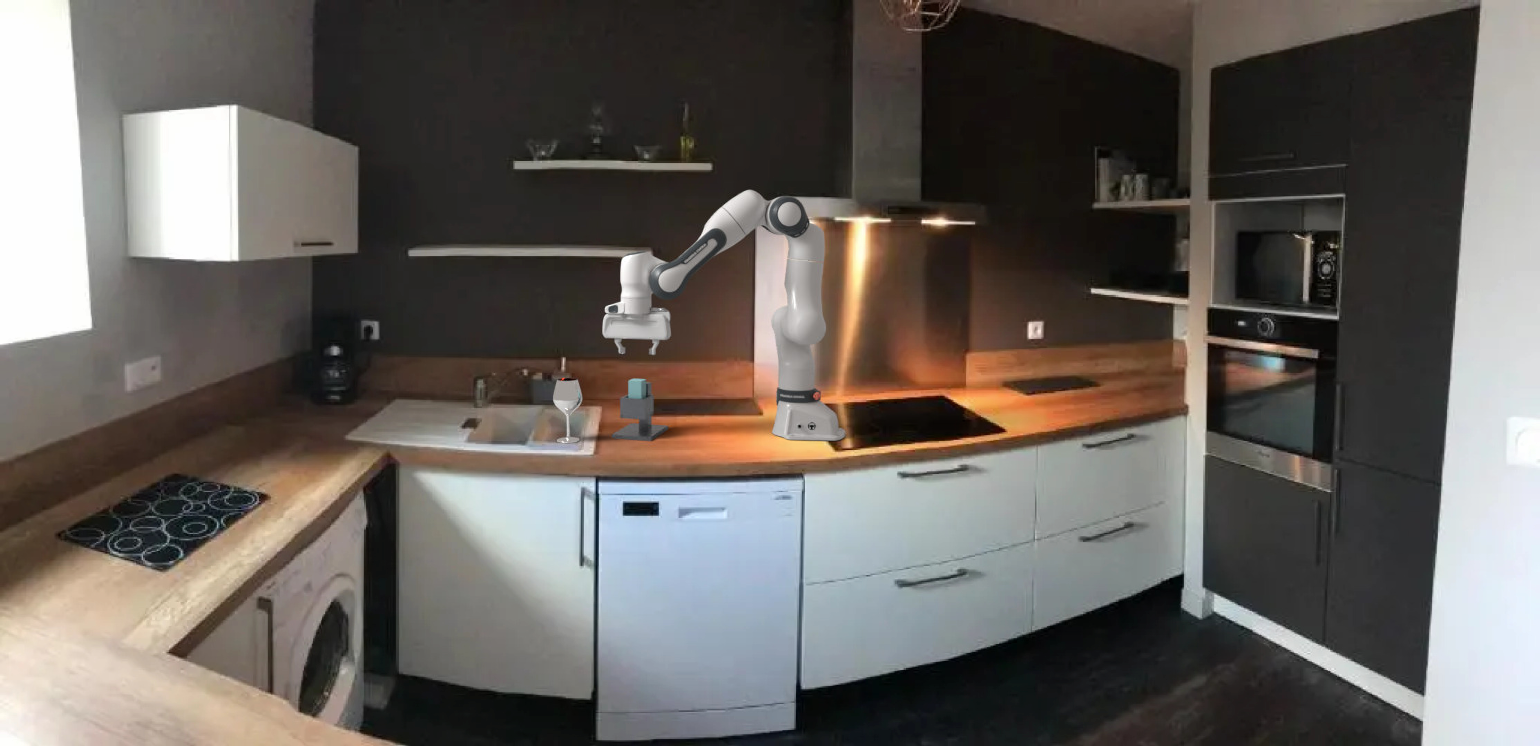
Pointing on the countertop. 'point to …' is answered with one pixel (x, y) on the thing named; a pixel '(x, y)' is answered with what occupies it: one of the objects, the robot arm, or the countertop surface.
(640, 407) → the stand
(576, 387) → the wineglass
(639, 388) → the teal rectangular block
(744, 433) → the countertop surface
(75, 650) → the countertop surface
